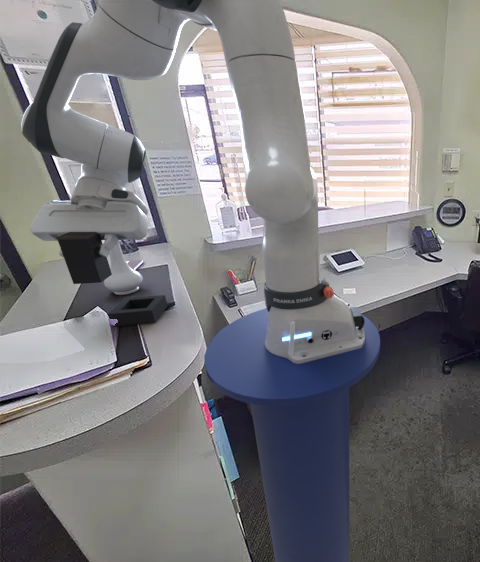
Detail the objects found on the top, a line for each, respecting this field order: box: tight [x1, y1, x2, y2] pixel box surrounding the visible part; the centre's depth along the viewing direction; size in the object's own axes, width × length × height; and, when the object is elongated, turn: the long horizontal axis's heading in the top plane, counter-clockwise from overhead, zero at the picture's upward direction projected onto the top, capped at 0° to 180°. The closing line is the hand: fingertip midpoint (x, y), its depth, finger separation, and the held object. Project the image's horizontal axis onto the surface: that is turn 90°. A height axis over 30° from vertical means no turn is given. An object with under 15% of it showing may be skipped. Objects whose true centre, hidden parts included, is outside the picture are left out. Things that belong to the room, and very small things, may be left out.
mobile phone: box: [125, 259, 144, 271], centre depth 111 cm, size 8×1×15 cm
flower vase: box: [103, 240, 144, 296], centre depth 90 cm, size 13×18×25 cm
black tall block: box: [56, 232, 112, 285], centre depth 65 cm, size 5×5×10 cm
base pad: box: [106, 294, 168, 327], centre depth 80 cm, size 9×9×4 cm
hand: (83, 256), depth 64 cm, fingers closed on black tall block, 5 cm apart
